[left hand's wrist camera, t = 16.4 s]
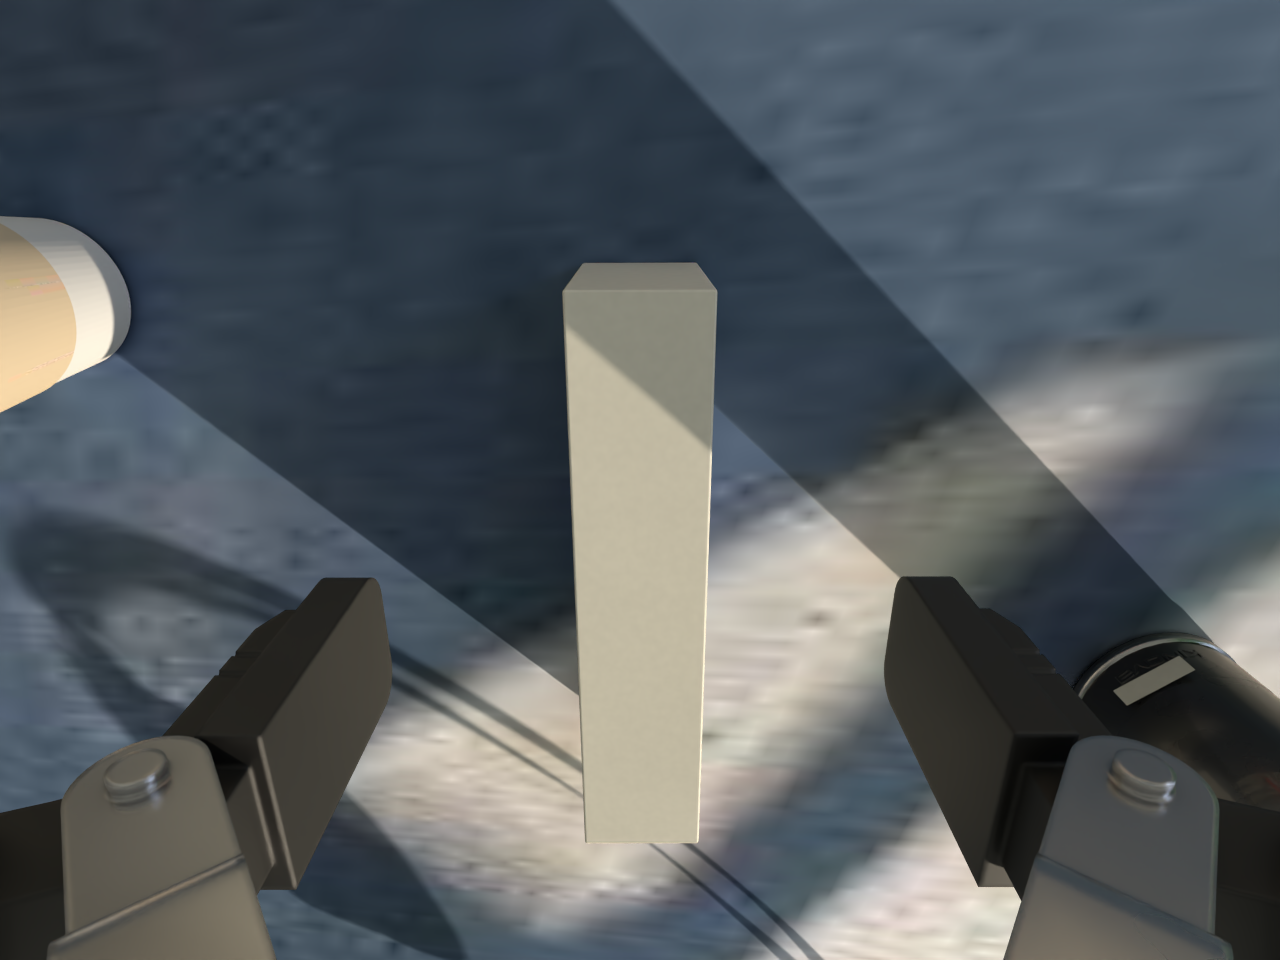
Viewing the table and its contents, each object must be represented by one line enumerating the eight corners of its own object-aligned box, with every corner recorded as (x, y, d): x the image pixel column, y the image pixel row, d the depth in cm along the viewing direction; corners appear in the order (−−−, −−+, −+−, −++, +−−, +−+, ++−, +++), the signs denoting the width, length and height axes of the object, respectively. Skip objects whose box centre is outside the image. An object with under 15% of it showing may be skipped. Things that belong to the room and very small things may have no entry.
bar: (581, 262, 34) (562, 290, 25) (697, 262, 34) (717, 289, 25) (596, 710, 43) (585, 844, 34) (686, 710, 43) (698, 844, 34)
